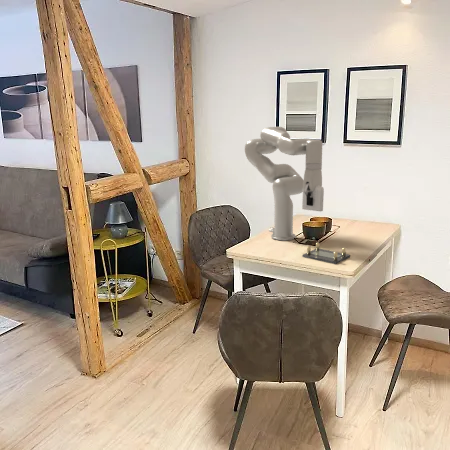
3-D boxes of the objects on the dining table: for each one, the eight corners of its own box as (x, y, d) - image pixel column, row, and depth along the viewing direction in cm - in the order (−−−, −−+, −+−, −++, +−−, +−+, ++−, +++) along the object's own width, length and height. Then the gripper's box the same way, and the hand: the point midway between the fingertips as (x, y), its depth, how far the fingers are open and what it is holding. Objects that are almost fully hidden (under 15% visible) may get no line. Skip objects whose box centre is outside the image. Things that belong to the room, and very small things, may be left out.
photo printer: (324, 210, 225) (325, 184, 222) (321, 212, 222) (321, 186, 219) (304, 208, 231) (305, 183, 228) (300, 209, 227) (301, 184, 224)
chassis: (302, 256, 216) (302, 247, 214) (317, 250, 225) (317, 241, 224) (335, 264, 205) (336, 254, 203) (349, 256, 214) (350, 247, 213)
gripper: (316, 164, 230) (315, 200, 234) (296, 167, 217) (296, 206, 222) (329, 165, 225) (328, 202, 229) (310, 169, 212) (310, 208, 217)
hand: (312, 204), depth 225 cm, fingers closed on photo printer, 4 cm apart
